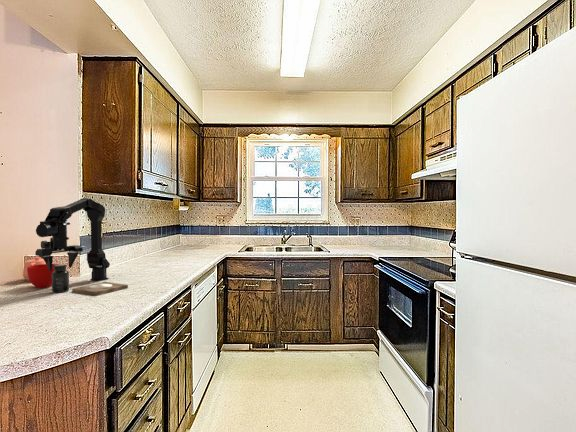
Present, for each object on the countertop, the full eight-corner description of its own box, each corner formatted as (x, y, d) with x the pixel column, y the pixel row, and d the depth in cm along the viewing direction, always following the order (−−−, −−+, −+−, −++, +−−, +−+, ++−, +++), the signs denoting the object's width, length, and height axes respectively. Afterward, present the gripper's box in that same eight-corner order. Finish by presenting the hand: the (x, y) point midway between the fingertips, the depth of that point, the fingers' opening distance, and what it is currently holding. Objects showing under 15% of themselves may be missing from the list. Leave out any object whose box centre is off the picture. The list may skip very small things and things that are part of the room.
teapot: (44, 282, 192) (44, 258, 192) (17, 283, 189) (17, 259, 189) (56, 275, 212) (55, 254, 211) (31, 276, 208) (31, 254, 208)
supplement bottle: (72, 289, 176) (72, 264, 175) (62, 293, 169) (62, 266, 169) (58, 289, 176) (58, 263, 176) (48, 292, 170) (47, 266, 169)
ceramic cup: (50, 281, 194) (50, 262, 194) (63, 286, 183) (63, 265, 183) (20, 285, 184) (20, 265, 184) (32, 290, 173) (32, 269, 173)
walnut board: (105, 284, 187) (104, 281, 186) (127, 287, 179) (127, 284, 179) (72, 291, 171) (72, 287, 171) (95, 295, 164) (95, 291, 164)
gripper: (68, 233, 184) (68, 264, 184) (27, 236, 167) (28, 271, 168) (83, 234, 179) (83, 266, 179) (42, 237, 162) (43, 273, 163)
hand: (60, 269), depth 172 cm, fingers open, 9 cm apart
